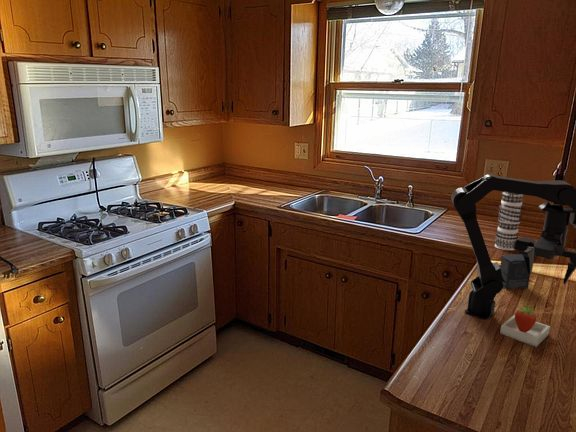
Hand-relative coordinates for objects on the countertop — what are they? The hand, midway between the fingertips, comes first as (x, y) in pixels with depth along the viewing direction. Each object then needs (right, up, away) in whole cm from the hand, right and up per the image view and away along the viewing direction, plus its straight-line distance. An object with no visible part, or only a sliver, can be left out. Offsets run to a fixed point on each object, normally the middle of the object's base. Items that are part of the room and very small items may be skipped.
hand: (546, 278), depth 129 cm
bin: (-9, -15, -4) cm, 18 cm away
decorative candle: (+20, +4, +65) cm, 68 cm away
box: (+4, -6, +27) cm, 28 cm away
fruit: (-9, -14, -4) cm, 17 cm away
